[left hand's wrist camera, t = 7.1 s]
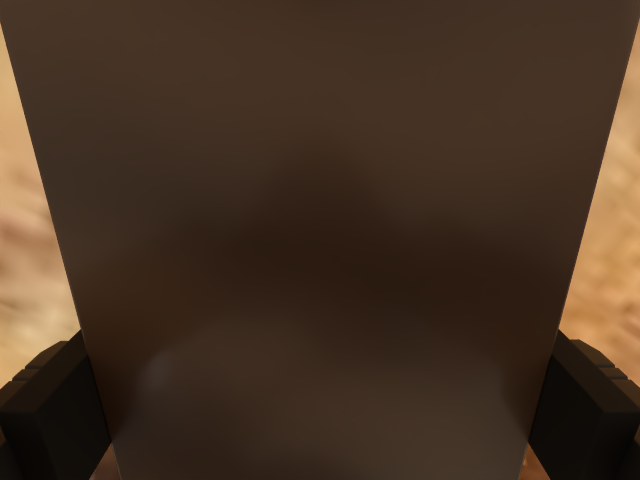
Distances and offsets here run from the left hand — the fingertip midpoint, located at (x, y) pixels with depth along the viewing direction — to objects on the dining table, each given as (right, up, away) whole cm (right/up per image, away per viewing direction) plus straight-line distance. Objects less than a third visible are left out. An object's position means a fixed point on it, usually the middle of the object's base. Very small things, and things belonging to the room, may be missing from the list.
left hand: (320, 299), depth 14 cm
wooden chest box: (0, +5, +1) cm, 6 cm away
